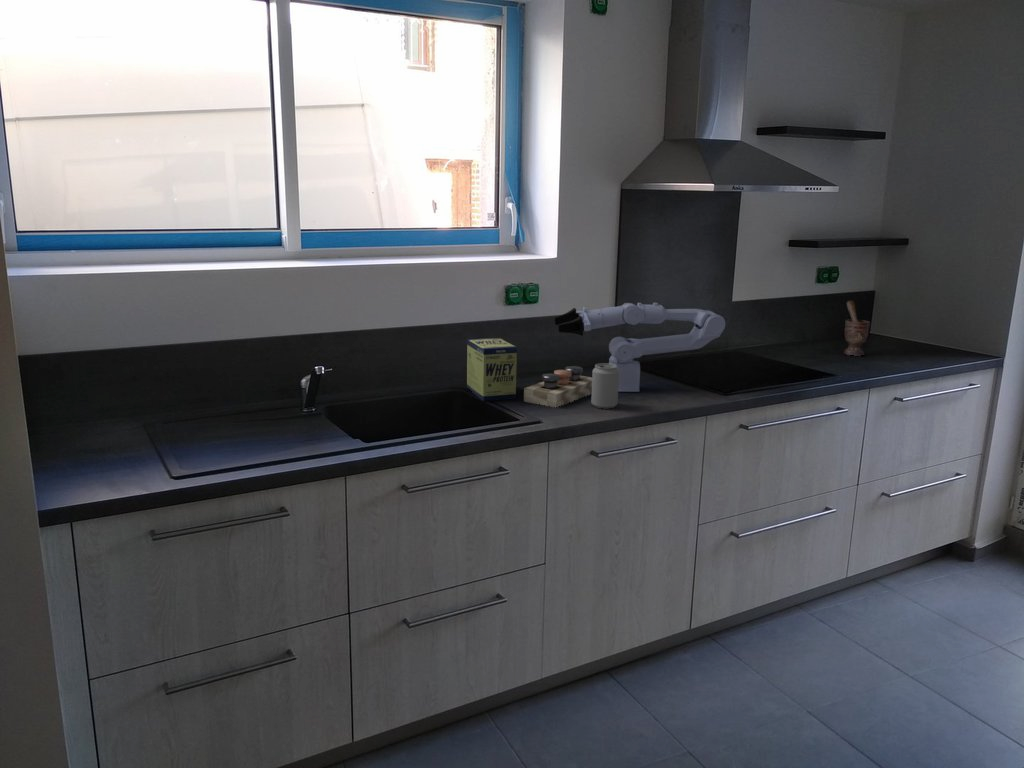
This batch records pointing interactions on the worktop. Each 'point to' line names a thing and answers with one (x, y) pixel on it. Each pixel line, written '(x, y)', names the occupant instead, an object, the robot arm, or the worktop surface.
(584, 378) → the console
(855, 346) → the mortar and pestle
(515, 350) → the protein box
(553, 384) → the knob
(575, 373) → the knob
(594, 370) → the can
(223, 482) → the worktop surface
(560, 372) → the knob middle
